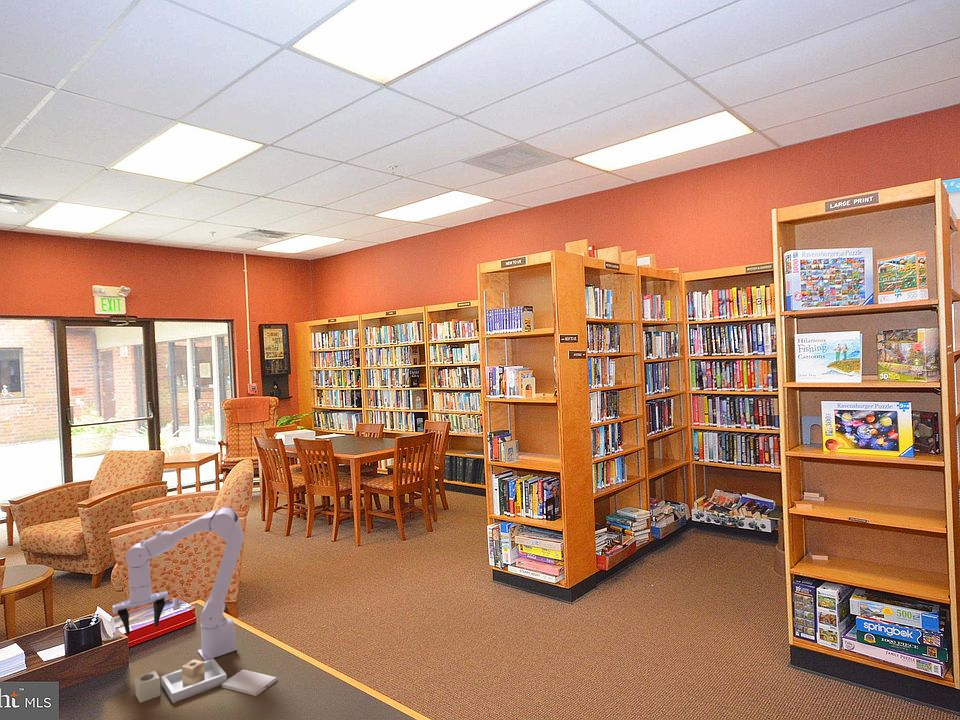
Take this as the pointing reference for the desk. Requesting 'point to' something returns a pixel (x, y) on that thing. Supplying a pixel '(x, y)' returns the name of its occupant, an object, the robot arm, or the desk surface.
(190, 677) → the block
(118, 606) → the robot arm
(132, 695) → the desk surface
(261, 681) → the white flat slab
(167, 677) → the tray
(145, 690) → the oversize block
